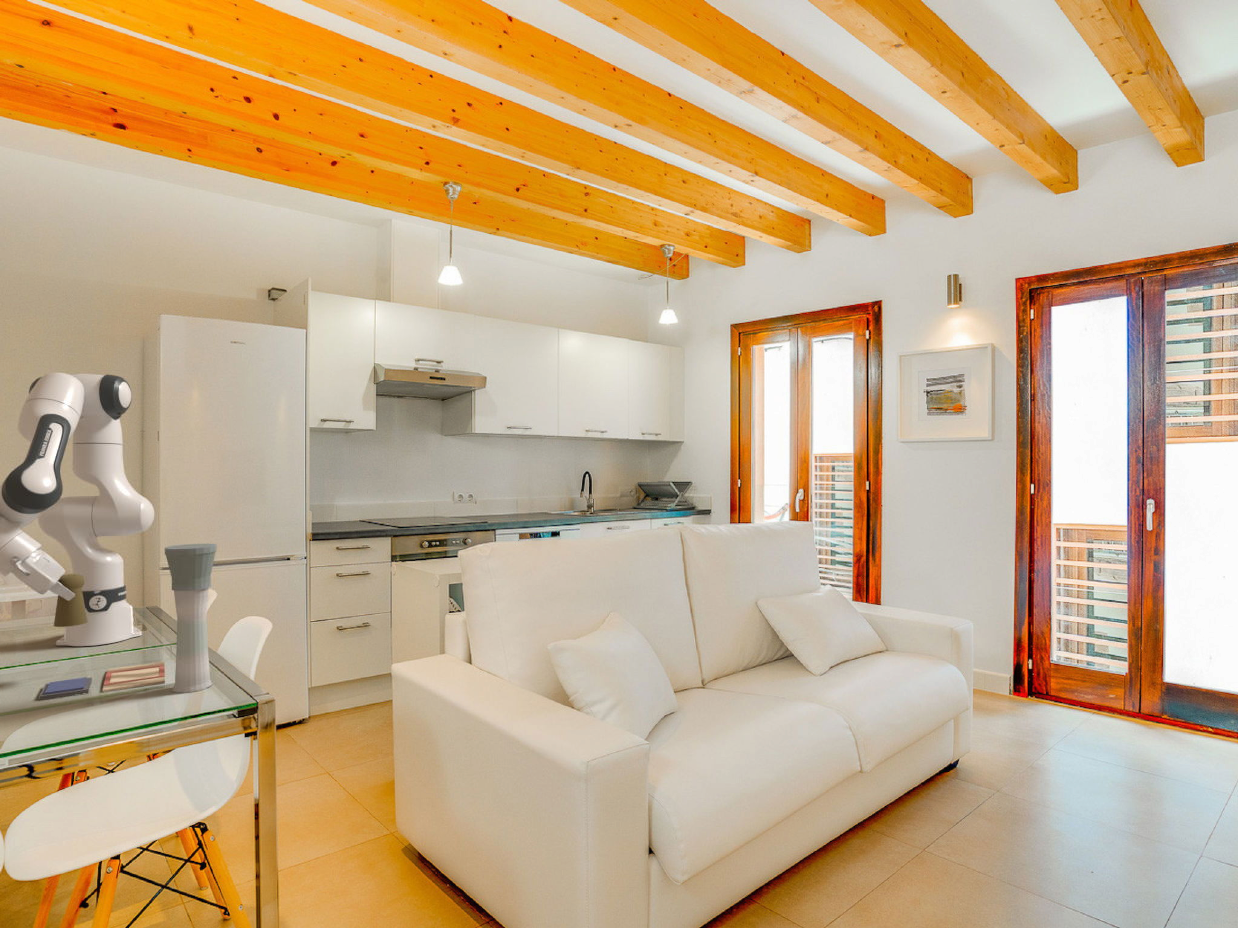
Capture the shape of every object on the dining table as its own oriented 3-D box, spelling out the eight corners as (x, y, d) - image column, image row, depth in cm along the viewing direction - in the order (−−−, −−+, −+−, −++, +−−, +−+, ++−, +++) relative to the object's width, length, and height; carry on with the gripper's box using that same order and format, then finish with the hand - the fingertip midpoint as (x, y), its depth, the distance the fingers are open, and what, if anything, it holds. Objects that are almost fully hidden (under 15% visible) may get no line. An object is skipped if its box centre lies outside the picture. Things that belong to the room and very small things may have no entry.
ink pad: (45, 687, 155) (45, 681, 155) (91, 680, 159) (91, 675, 159) (39, 700, 146) (39, 694, 146) (88, 693, 150) (88, 687, 150)
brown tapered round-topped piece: (69, 627, 158) (68, 577, 158) (46, 626, 159) (45, 576, 159) (94, 621, 164) (93, 572, 164) (72, 620, 165) (71, 572, 165)
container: (157, 690, 152) (155, 547, 152) (202, 678, 160) (200, 542, 160) (182, 697, 147) (180, 549, 147) (227, 684, 155) (225, 544, 155)
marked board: (107, 671, 166) (107, 668, 166) (164, 663, 172) (164, 661, 172) (102, 692, 151) (102, 689, 151) (164, 682, 157) (164, 680, 157)
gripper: (22, 549, 149) (82, 591, 154) (36, 540, 166) (89, 578, 171) (-6, 573, 146) (55, 615, 152) (11, 561, 164) (66, 599, 169)
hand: (73, 595), depth 162 cm, fingers closed on brown tapered round-topped piece, 4 cm apart
